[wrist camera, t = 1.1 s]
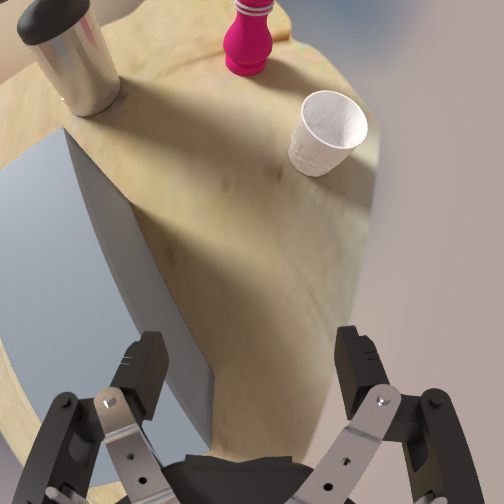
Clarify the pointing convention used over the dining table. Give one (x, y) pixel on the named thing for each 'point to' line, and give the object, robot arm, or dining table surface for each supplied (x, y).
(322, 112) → the white cup
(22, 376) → the grey cubby
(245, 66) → the pepper mill
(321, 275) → the dining table surface
